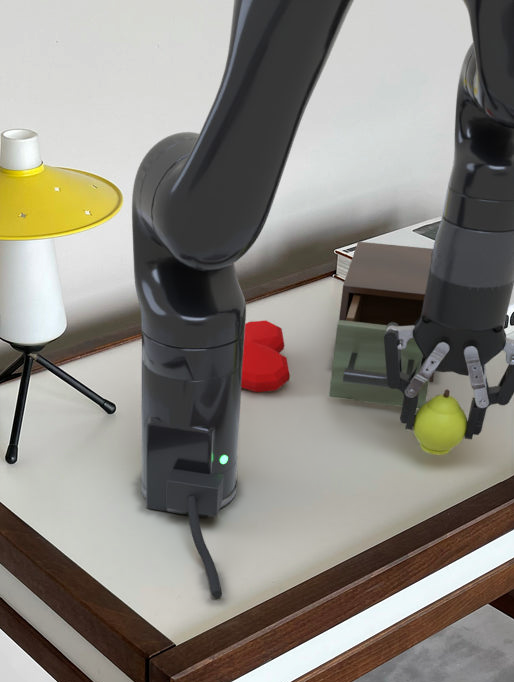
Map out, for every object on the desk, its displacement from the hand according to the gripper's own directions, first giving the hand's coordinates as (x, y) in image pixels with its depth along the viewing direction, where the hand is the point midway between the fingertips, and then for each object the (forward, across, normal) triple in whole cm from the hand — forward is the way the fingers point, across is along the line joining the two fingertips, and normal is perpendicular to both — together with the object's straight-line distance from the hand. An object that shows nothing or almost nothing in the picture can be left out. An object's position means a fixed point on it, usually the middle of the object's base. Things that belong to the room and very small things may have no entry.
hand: (439, 430), depth 101 cm
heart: (+4, -23, +14) cm, 27 cm away
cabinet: (+4, -7, +26) cm, 27 cm away
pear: (+2, 0, 0) cm, 2 cm away
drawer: (+3, -7, +13) cm, 15 cm away
